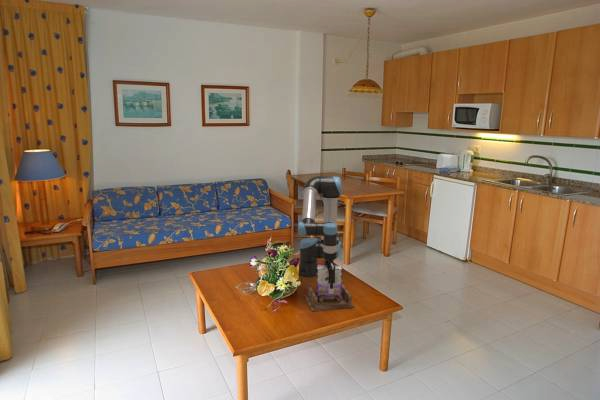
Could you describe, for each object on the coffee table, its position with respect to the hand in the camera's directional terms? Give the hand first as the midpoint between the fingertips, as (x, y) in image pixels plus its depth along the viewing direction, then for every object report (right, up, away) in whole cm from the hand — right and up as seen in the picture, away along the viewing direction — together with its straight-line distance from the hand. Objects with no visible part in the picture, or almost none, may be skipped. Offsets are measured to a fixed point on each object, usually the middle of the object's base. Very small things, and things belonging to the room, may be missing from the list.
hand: (329, 290), depth 224 cm
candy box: (0, -2, +1) cm, 3 cm away
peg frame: (0, -7, +1) cm, 7 cm away
